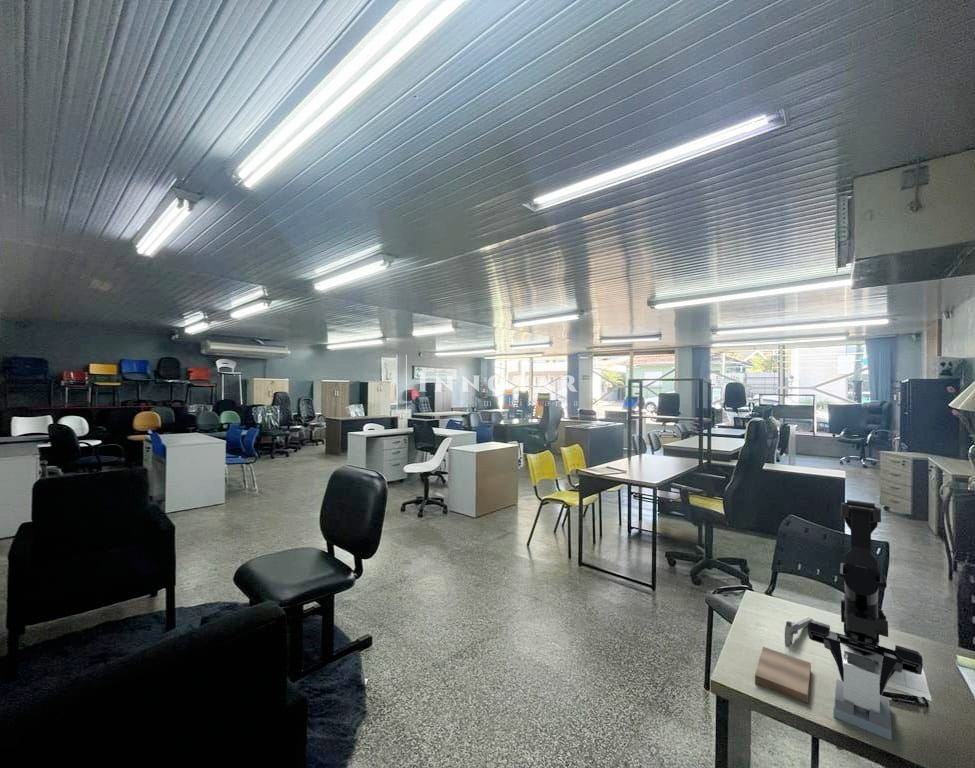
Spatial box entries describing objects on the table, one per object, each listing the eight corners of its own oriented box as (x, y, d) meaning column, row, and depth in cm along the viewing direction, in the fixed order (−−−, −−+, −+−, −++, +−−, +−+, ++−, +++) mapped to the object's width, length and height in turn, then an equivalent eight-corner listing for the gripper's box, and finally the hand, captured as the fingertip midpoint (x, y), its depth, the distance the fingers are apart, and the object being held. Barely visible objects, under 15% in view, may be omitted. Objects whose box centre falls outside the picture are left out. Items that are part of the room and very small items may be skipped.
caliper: (789, 647, 113) (789, 624, 113) (784, 645, 114) (784, 623, 114) (813, 621, 126) (813, 601, 126) (809, 620, 127) (809, 599, 127)
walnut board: (763, 654, 110) (763, 646, 110) (810, 670, 104) (810, 662, 104) (755, 683, 100) (755, 674, 100) (807, 703, 93) (807, 694, 93)
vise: (836, 688, 98) (835, 659, 98) (889, 708, 92) (888, 677, 92) (833, 716, 90) (833, 684, 90) (891, 740, 84) (891, 705, 84)
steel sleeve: (844, 686, 93) (844, 650, 93) (879, 698, 89) (878, 661, 89) (843, 700, 89) (843, 663, 89) (879, 714, 85) (879, 675, 85)
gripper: (807, 585, 98) (803, 654, 90) (921, 614, 86) (927, 697, 78) (811, 605, 104) (807, 672, 96) (918, 635, 92) (923, 714, 83)
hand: (861, 687), depth 88 cm, fingers closed on steel sleeve, 6 cm apart
